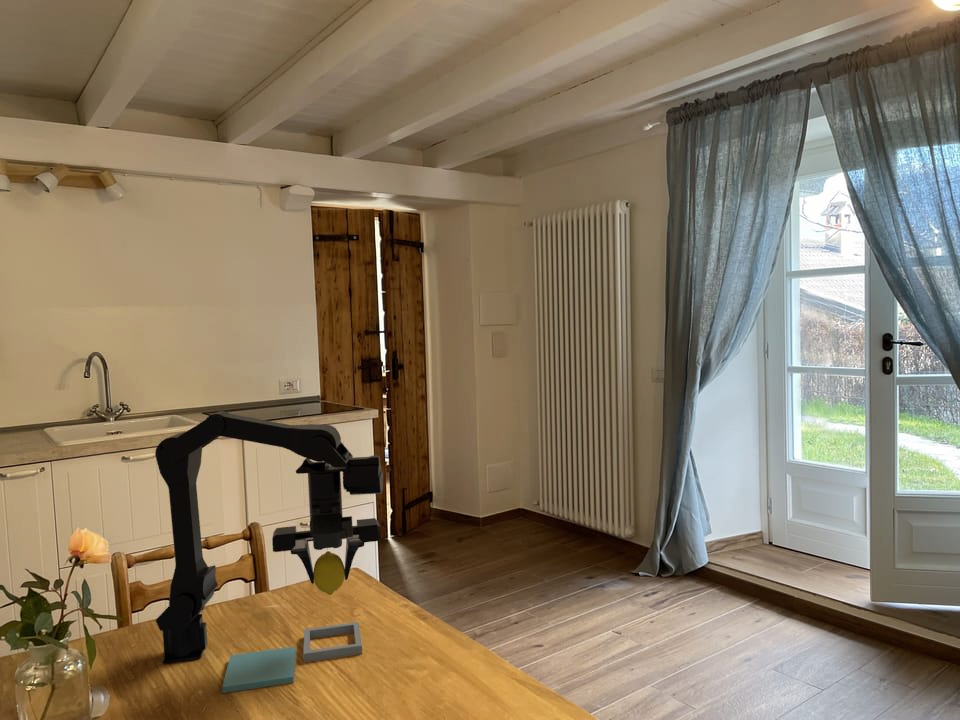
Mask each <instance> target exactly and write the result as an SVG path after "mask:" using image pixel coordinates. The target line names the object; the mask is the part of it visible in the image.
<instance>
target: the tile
mask: <svg viewBox="0 0 960 720" xmlns="http://www.w3.org/2000/svg"><path fill="white" fill-rule="evenodd" d="M296 651H297V649H296V645H295V646H289V647H288V646H287V647H281V648H280V647H279V648H273V649H266V650H259V651H251V652H245V653H243V652H242V653H238V654H231V655H230V656H229V660H228V664H227V668H226V672H225V675H224V679H223V682H222V683H223V684H222V686H221V687H222V694H227V693H233V692H239V691H246V690H254V689H258V688H259V689H260V688H267V687H272V686H280V685H286V684H294V683H295V672H296V671H295V670H296V669H295V668H296V656H297V655H296Z"/></svg>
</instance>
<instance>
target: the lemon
mask: <svg viewBox="0 0 960 720" xmlns="http://www.w3.org/2000/svg"><path fill="white" fill-rule="evenodd" d="M313 573H314V574H313V576H314V585H315V586H316V588H318V590H319V591H320V592H322V593H326V594H327V595H328V596H331V595H333V594H334V592H336V591H337V590H339V589H340V588H341V587H342V585H343V583H344V580H345V564H344V562H343V560H342V558H341V557H340V556H339V555H337V554H336V553H333V552H331V551H330V550H328V551H325V553H323V554H321V555H320V556H319V557H318V558H317V559H316V560H315V563H314V567H313Z"/></svg>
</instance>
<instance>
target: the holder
mask: <svg viewBox="0 0 960 720" xmlns="http://www.w3.org/2000/svg"><path fill="white" fill-rule="evenodd" d="M303 631H304V633H303V663H307V662H308V663H309V662H316V661H321V660H329V659H335V658H342V657H349V656H350V657H351V656H357V655H363V644H362V637H361V630H360V624H359V621H355V622H349V623H341V624H335V625H334V624H333V625H326V626H319V627H318V626H317V627H312V628H304V630H303ZM347 634H353V637H354V643H352V644H347V645H346V644H344V645H338V646H331V647H323V648H317V649H311V639H317V638H324V637H330V636H332V637H333V636H339V635H347Z"/></svg>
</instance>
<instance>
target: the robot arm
mask: <svg viewBox="0 0 960 720" xmlns="http://www.w3.org/2000/svg"><path fill="white" fill-rule="evenodd" d="M219 437H225V438H229V439H234V440H235V439H236V440H240V441H246V442H251V443H257V444H261V445H267V446H271V447H273V446H274V447H278V448H283V449H286V450H289V451H291V452H292V453H294V454H295V455H298V456H300V457H302V458H305V459H303V461H302V464H301V465H300V466H299V467H298V468H296V470H295V473H296V474H299V475H300V474H307V484H308V485H307V487H308V503H309V504H308V505H309V506H308V507H309V530H300V531H297V526H296V525H292V526H291V525H290V526H283V527H282V526H281V527H276V528H275V529H274V530H273V534H272V543H271V544H272V552H274V553H279V552H290V554H291V555H296V556H297V557H298V558H299V559H300V560H301V562H302V564H303V566H304V569H305V571H306V573H307V576H308V578H309V581H310V583H311V584H312V585H313V584H314V585H315V582H314V576H313V574H314V567H313V563H312V556H311V550H310V546H309V545H310V544H309V542H312V543H313V544H312V545H313V549H314V550H315V551H321V550H323V549H330V548H333V549H339V548H340V547H342V545H343V540H346V541H345V542H346V543H345V555H344V557H345V559H344V569H345V577H344V580H346V581H347V580H348V578H349V576H350V571H351V568H352V565H353V560H354V558H355V555H356V553H357V551H358V549H359V548H362V547H363V548H364V546H365V544H366V543H373V542H379V541H381V540H382V537H381V535H382V534H381V525H380V524H379V523H380V522H379V520H378V519H377V518H376V517H373V518H364V519H363V518H362V519H356V525H353V516H352V515H351V516H344V515H343V499H342V487H343V490H345V491H346V493H348V494H349V495H350V496H356V495H357V496H361V495H378V494H379V495H380V494H383V491H384V490H383V489H384V471H383V470H382V463H381V456H380V455H379V454H378V455H377V454H376V455H370V456H359V457H353V454H352V453H351V452H350V450H349V449H348V448H347V447H346V446H345V444H344V443H343V442H342V437H341V435H340V432H339V431H338V430H337V428H336V427H335V426H333V425H330V424H326V423H325V424H320V423H319V424H317V423H316V424H315V423H313V424H312V423H308V424H307V423H306V424H286V423H282V422H277V421H270V420H265V419H260V418H254V417H251V416H250V417H249V416H244V415H239V414H234V413H233V414H232V413H230V412H227V411H223V410H222V411H221V410H220V411H218V412H215V413H212V414H210V415H208V416H207V417H206V418H205V419H204V420H202V421H201V422H200V423H198V424H196V425H194V426H193V427H192V428H190V429H188V430H187V431H183V432H179V433H175V434H174V435H171V436H169V437H166V438H164V439H163V440H161V441H160V443H159V444H158V445H157V446H156V447H155V453H154V454H155V455H154V456H155V459H156V463H157V468H158V470H159V475H160V476H161V477H162V479H163V480H164V482H165V484H166V486H167V488H168V494H169V495H168V497H169V498H168V499H169V507H170V515H171V516H170V517H171V518H170V519H171V530H172V539H173V540H172V541H173V542H172V543H173V550H174V563H175V566H174V567H175V568H174V572H173V575H172V579H171V583H170V587H169V598H168V599H169V600H168V606H167V607H166V608H165V609H164V611H162V612H161V614H160V615H159V616H158V617H157V618H156V619H155V622H156V625H157V627H158V629H159V631H161V632H162V641H163V642H162V643H163V657H162V658H161V663H162V664H168V663H169V664H170V663H175V662H182V661H183V662H184V661H191V660H198V659H201V658H202V656H203V653H204V651H206V649H207V645H208V629H207V622H205V621H204V620H203V617H204V616H203V613H201V612H202V611H203V610H205V607H206V605H207V604H208V603H209V601H210V600H211V599H212V598H213V596H214V594H215V590H216V589H217V587H218V586H219V583H218V582H217V580H216V572H217V568H216V567H217V566H216V565H211V566H208V564H207V563H206V561H205V559H204V557H203V556H204V555H203V545H202V534H201V532H202V531H201V522H200V512H199V510H200V509H199V499H198V489H197V479H198V476H199V472H200V469H201V464H202V457H203V455H202V454H203V449H204V448H205V447H207V446H208V445H209V444H211V443H213V442H214V441H215V440H216V439H218V438H219ZM341 472H342V474H341ZM341 475H342V478H341ZM341 480H342V481H341Z"/></svg>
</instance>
